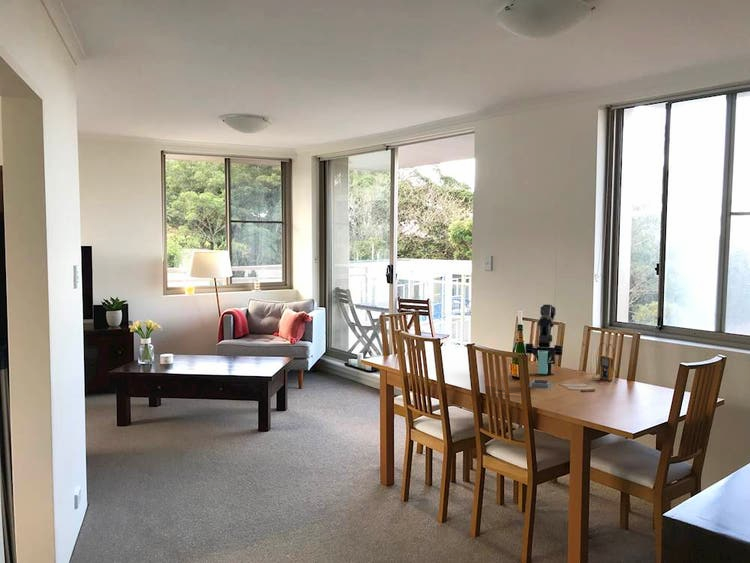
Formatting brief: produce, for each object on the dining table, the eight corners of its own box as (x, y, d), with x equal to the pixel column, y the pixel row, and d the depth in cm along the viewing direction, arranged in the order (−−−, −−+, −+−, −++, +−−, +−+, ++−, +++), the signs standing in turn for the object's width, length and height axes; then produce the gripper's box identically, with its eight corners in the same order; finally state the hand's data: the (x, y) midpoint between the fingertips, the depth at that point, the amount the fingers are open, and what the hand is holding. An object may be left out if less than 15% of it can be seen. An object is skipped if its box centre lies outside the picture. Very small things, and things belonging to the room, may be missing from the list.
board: (559, 386, 310) (559, 383, 310) (582, 385, 312) (582, 382, 312) (571, 392, 297) (571, 389, 297) (595, 391, 299) (595, 388, 299)
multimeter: (584, 377, 329) (585, 342, 327) (598, 376, 333) (599, 341, 331) (604, 383, 315) (605, 346, 314) (618, 382, 319) (619, 345, 318)
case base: (531, 383, 316) (531, 377, 315) (552, 385, 312) (552, 379, 311) (528, 389, 302) (528, 383, 302) (550, 391, 299) (550, 385, 298)
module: (538, 371, 309) (539, 350, 309) (547, 371, 308) (547, 351, 307) (537, 373, 305) (538, 352, 304) (546, 374, 303) (547, 353, 302)
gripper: (525, 328, 311) (523, 352, 302) (562, 330, 305) (561, 355, 296) (526, 340, 319) (524, 364, 310) (562, 342, 313) (561, 367, 304)
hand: (542, 362), depth 305 cm, fingers closed on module, 4 cm apart
